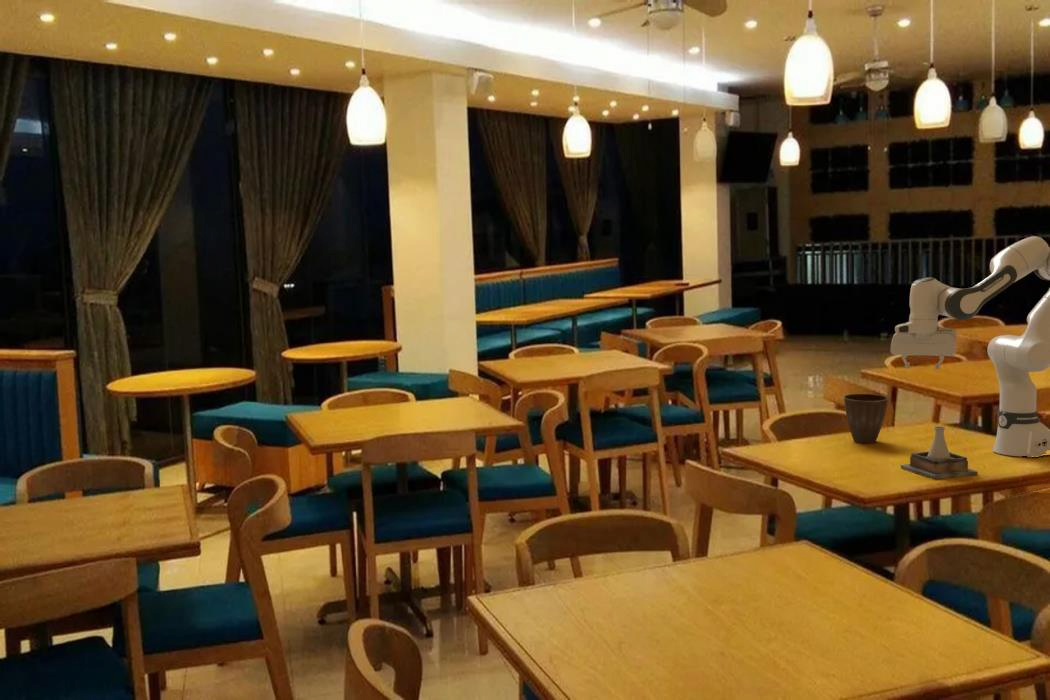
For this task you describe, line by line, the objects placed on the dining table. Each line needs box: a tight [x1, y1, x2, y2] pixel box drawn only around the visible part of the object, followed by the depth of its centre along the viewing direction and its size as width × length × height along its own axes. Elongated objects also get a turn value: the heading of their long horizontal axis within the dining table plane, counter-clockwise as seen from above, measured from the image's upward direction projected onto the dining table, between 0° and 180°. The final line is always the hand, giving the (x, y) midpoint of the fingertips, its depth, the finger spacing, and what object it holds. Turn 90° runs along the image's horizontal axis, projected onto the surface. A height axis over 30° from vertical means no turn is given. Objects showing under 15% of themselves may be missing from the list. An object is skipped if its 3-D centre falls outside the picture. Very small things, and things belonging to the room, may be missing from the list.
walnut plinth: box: [900, 451, 979, 480], centre depth 330 cm, size 16×16×5 cm
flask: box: [927, 425, 951, 460], centre depth 329 cm, size 7×7×10 cm
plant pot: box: [843, 393, 889, 444], centre depth 374 cm, size 15×15×16 cm
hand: (922, 368), depth 350 cm, fingers open, 8 cm apart
